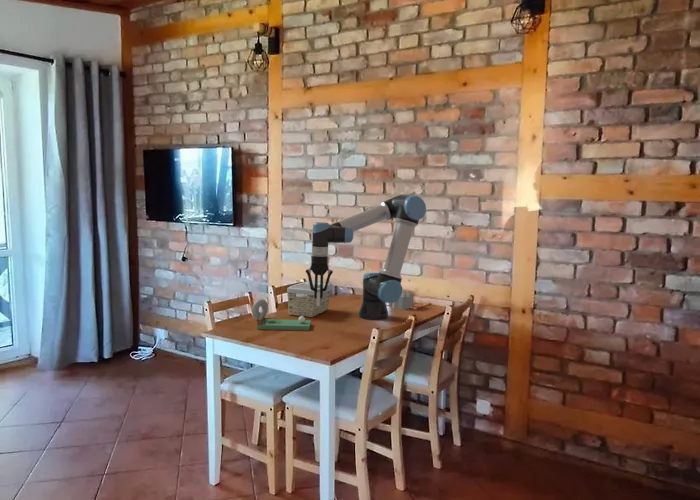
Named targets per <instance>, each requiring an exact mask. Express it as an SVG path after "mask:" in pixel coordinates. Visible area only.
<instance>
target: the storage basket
mask: <svg viewBox="0 0 700 500" xmlns="http://www.w3.org/2000/svg"><path fill="white" fill-rule="evenodd" d="M312 283H313V288H315V281H314V282H313V281H312ZM325 284H326V282H323V288H324V287H325ZM331 289H332V286H331V283H330V282H329V283H328V286H327V290H326V291H323V297H322V299H320V306H316V305H317V298H314V291H313V290H311V288H310V283H309V281H305V282H300V283H297V284H294V285H290V286H289V287H287V289H286V290H287V294H286V295H287V305H288V307H287V309H288V311H287V312H288V315H291V316H298V317H301V316H303V317H306V318H313V317H315V316H317V315H319V314H322V313H324V312H325V311H328V309H329V304H330V303H329V302H330V295H331ZM317 291H320V282H318V286H317Z"/></svg>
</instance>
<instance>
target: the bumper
mask: <svg viewBox="0 0 700 500" xmlns="http://www.w3.org/2000/svg"><path fill="white" fill-rule="evenodd" d="M265 317H266V316H265V314H261V315H260V317H259V318H258V319H257V320H256V321H257V325H261V324H262V322H263V321H264V319H265ZM257 325H256V326H257Z"/></svg>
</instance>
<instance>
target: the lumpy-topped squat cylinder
mask: <svg viewBox="0 0 700 500" xmlns="http://www.w3.org/2000/svg"><path fill="white" fill-rule="evenodd" d="M391 304H392V309H396V310H401V309H408V310H410V309H409V308H411V307H413V308H414V294H413V293H411V292H410V291H405V290H402V295H401V297H400V298H399V299H398V300H397V301H395V302H393V303H391Z"/></svg>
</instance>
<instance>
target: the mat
mask: <svg viewBox="0 0 700 500" xmlns="http://www.w3.org/2000/svg"><path fill="white" fill-rule="evenodd" d="M256 326H257V327H256V329H257V330H270V331H271V330H274V331H276V330H277V331H279V330H280V331H281V330H283V331H310V330H311V326H312V319H311V320H310V319H305V322H304V323H300V322H299V321H298V319H270V318H266V319H264V321H263V322H262V324H261V325H256Z"/></svg>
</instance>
